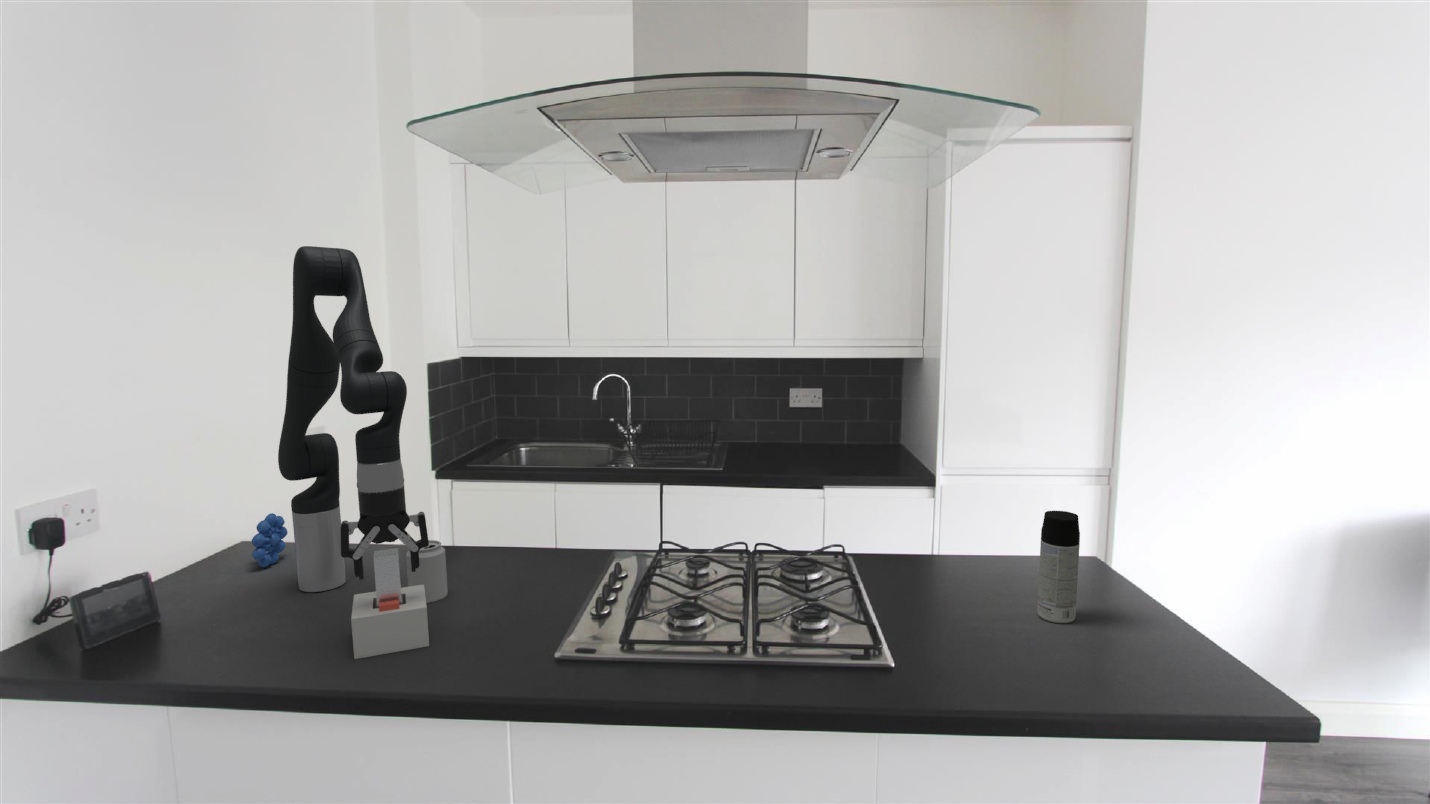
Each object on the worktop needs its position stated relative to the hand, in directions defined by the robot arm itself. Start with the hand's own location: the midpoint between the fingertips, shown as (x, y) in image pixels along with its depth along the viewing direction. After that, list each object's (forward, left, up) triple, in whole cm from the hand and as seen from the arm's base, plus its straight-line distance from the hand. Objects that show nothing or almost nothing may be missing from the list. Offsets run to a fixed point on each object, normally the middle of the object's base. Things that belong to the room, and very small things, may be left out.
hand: (387, 574), depth 137 cm
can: (-19, +7, -13) cm, 24 cm away
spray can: (+41, +116, -13) cm, 124 cm away
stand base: (0, 0, -13) cm, 13 cm away
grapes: (-59, -27, -13) cm, 66 cm away
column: (0, 0, -12) cm, 12 cm away
